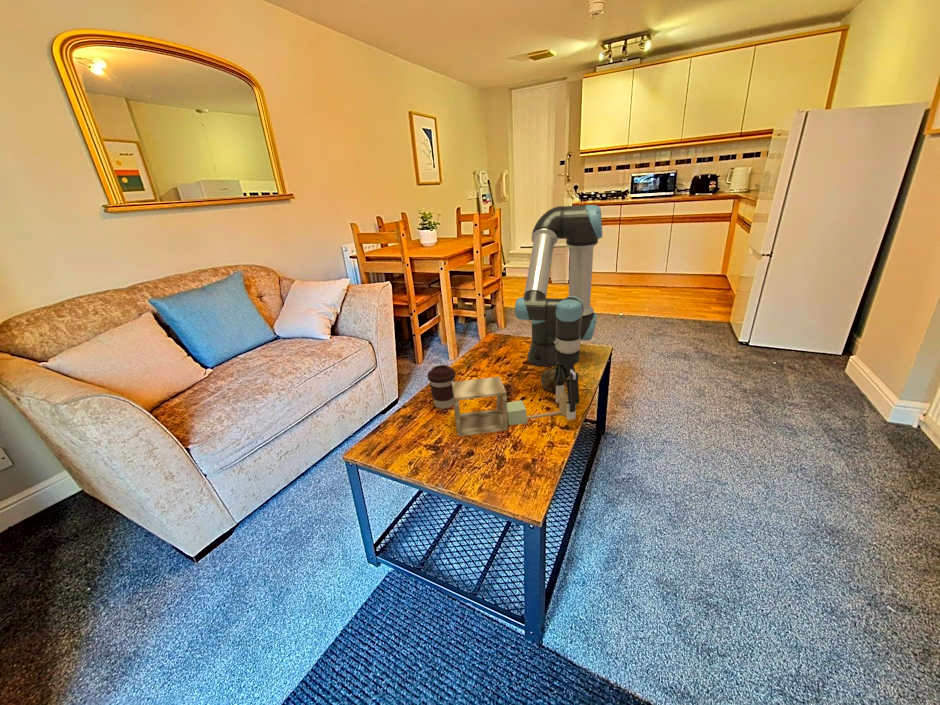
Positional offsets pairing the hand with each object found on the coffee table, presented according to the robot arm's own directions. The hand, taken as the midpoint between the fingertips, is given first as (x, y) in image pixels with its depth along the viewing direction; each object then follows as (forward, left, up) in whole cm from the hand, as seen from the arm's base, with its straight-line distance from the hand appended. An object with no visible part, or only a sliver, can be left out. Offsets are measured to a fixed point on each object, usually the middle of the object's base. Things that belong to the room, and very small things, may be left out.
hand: (565, 410), depth 133 cm
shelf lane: (+29, 0, -2) cm, 29 cm away
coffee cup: (+40, -16, -2) cm, 43 cm away
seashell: (-2, -19, -3) cm, 20 cm away
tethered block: (+9, 0, -3) cm, 10 cm away
